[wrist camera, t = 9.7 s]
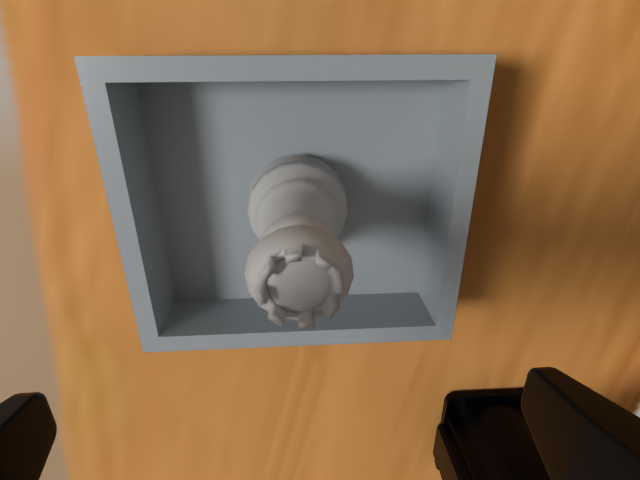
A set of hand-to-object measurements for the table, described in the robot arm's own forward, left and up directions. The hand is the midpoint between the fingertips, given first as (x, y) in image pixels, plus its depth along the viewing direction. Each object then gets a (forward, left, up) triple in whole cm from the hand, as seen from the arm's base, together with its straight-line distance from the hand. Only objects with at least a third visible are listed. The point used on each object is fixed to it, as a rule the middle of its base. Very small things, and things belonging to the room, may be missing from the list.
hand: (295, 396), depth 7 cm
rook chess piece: (0, 0, -12) cm, 12 cm away
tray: (0, 0, -13) cm, 13 cm away
